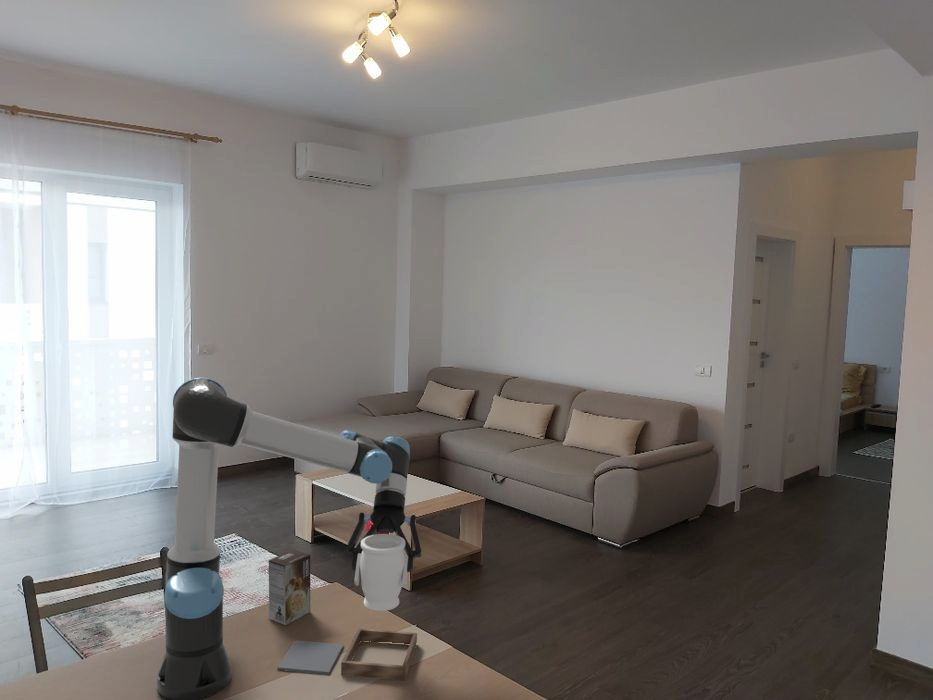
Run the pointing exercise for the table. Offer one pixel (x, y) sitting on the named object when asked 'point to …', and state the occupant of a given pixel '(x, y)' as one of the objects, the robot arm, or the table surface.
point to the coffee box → (289, 586)
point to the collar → (373, 668)
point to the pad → (311, 657)
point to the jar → (382, 570)
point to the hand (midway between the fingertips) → (380, 584)
